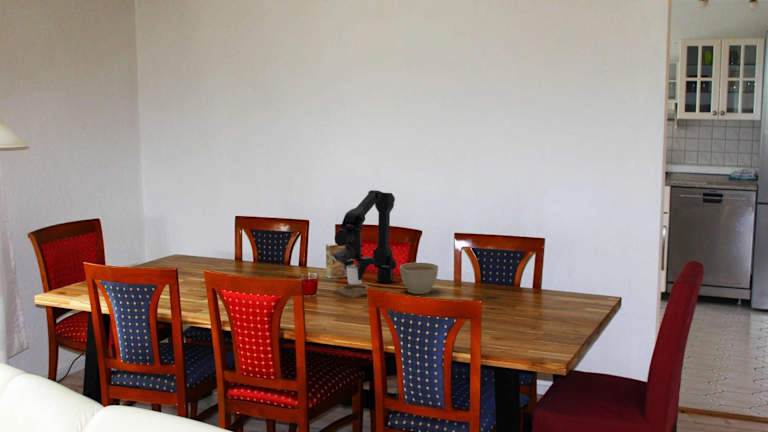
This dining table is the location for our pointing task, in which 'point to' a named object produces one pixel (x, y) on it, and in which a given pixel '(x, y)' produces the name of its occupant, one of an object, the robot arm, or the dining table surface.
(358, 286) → the saucer
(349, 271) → the white cup
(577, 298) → the dining table surface
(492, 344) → the dining table surface
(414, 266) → the planter bowl
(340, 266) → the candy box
